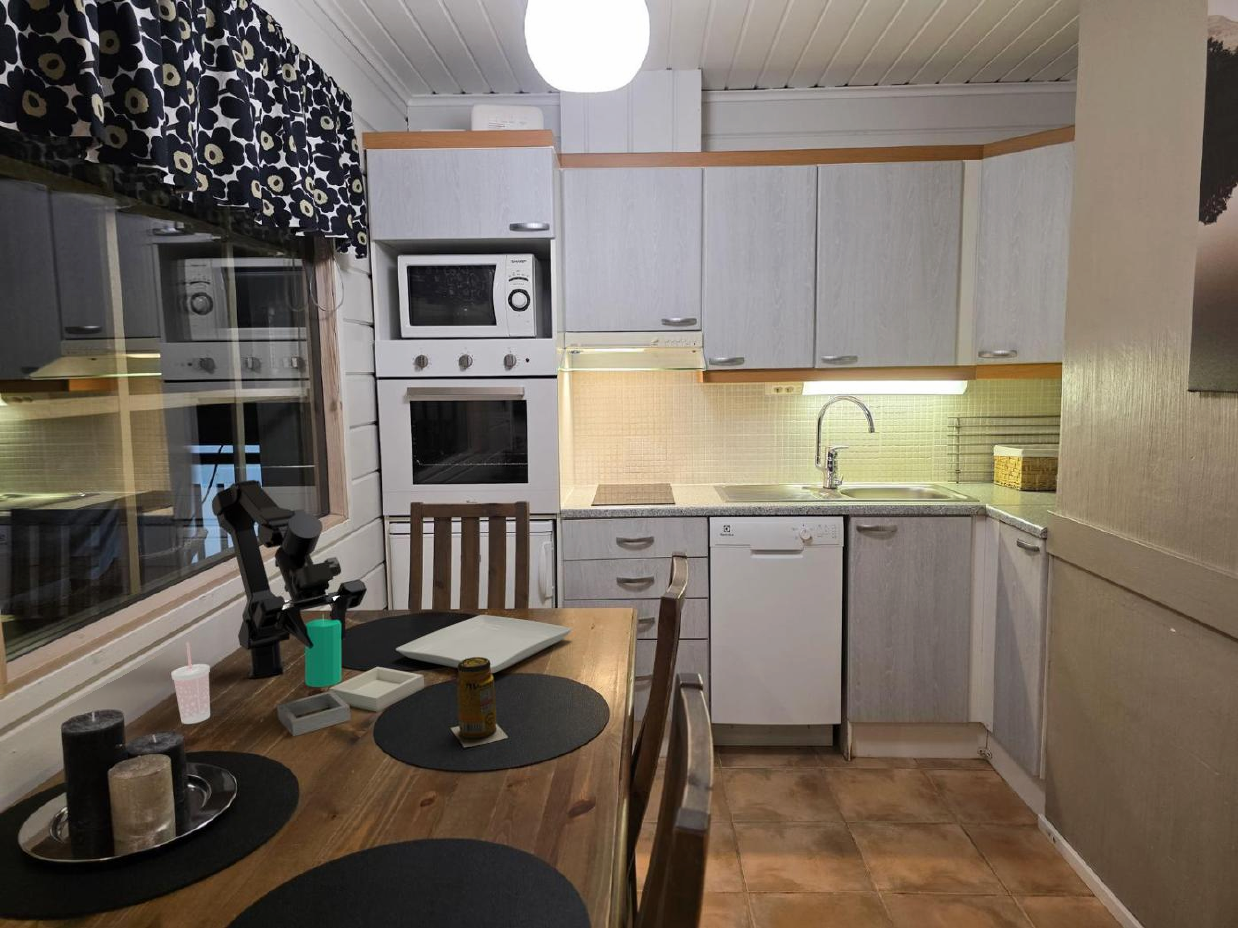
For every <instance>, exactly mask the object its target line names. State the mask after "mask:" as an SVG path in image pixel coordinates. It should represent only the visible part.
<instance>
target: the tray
mask: <svg viewBox="0 0 1238 928" xmlns="http://www.w3.org/2000/svg"><path fill="white" fill-rule="evenodd" d="M424 679H425V676H424V674H419V673H413V672H409V671H403V670H397V669H392V668H387V667H380V666H376V667H374V668H372V669H370V670H367V671H365V672H363V673H360V674H358V675H356V676H354V677H352V678H349V679H347V680H345V681H342V682H341V683H340V682H339V683H337V684H335V685H332V687H331V686H330V687H329V688H328V692H329V691H333V692H334V693H336V694H337V695H338V696H339V697H340V698H341V699H342V700H343V701H344V702H346V703H347V704H348V705H349V706H350V707H354V708H359V709H362V710H367V711H371V712H375V713H377V712H381V711H382V710H383V709H386V708H388V707H390V706H392V705H393V704H396V703H397V702H399V701H400V702H401V700H403V699H405V698H407V697H409V696H412V695H413V694H415V693H417V692H419V691H421V690H423V689H425V680H424Z"/></svg>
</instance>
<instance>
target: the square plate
mask: <svg viewBox="0 0 1238 928" xmlns="http://www.w3.org/2000/svg"><path fill="white" fill-rule="evenodd" d="M572 630H573V627H571V626H570V627H569V626H564V625H559V624H558V625H556V624H552V623H546V622H540V621H534V620H526V619H520V618H513V617H505V616H497V615H486V614H480V615H477V616H475V617H474V616H473V617H472V618H469V619H466V620H463V621H461V622H458V623H455V624H452V625H449V626H446V627H443V628H441V629H438V630H435V631H434V632H431V633H428V634H426V635H424V636H421V637H419V638H416V639H414V640H411V641H409V642H407V643H405V644H403V645H400V646H398V647H396V648H395V651H397V652H399V653H400V654H401V655H403V656H405V657H407V658H409V659H413V660H417V661H421V662H425V663H432V664H436V665H442V666H445V667H450V668H451V667H452V668H455V669H458V664H459V663H460V662H461V661H462V660H464V659H467V658H472V657H483V658H487V659H488V660H489V661H490V664H491V665H490V668H491V675H493V674H495V673H497V672H500V671H503V670H505V669H507V668H509V667H511V666H513V665H515V664H517V663H519V662H521V661H523V660H525V659H526V658H529V657H531V656H533V655H535V654H536V653H539V652H541V651H543V650H544V649H547V648H548V647H550V646H552V645H555V644H556V643H558V642H560V641H562V640H563V639H564V638H566V637H567V636H568V635H569V634H570V632H571V631H572Z"/></svg>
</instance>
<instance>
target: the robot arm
mask: <svg viewBox="0 0 1238 928" xmlns="http://www.w3.org/2000/svg"><path fill="white" fill-rule="evenodd" d="M211 510H212V513H213V515H214V516H215V517H216V519H217V523H218V526H220V528H222V529H223V530H224V531H226V533H228V535H230V537H231V542H232V545H233V549H234V550H233V551H234V553H235V557H236V560H237V561H236V562H237V565H238V569H239V573H240V576H241V581H242V585H243V588H244V593H245V597H246V600H247V601H246V604H245V606H244V609H243V612H242V614H241V616H242V622H241V625H240V628H239V632H238V634H237V637H238V642H239V646H240V647H242V648H243V649H245V650H247V651H250V661H251V669H250V670H249V674H248V679H256V678H263V677H269V676H271V677H272V676H278V675H283V674H284V673H285V669H286V661H283V659H282V647H281V642H283V641H288V640H290V638H291V637H290V636H291V635H292V636H293V637H294V638H296V639H297V640H299V642H301V643H302V644H303V645H304V646H305V645H306V646H307V647H309V648H310V649H311V648H312V647H313V643H312V642H311V640H310V638H309V636H308V633H307V628H306V626H305V625H306V623H304V620H303V618H302V614H301V612H302V611H306V610H310V609H314V608H319V607H323V606H327V605H329V606H330V608H331V611H330V613H329V617H330V620H339V621H340V622H341V641H344V640H346V637H347V635H346V613H347V611H348V610H350V609H353V608H355V609H356V608H357V607H359V606H360V605H361V603H362V602H363V600H364V596H365V595H366V592H367V590H368V589H367V586H366V584H365V582H363V581H362V580H360V579H354V580H353V579H352V580H349V581H345V582H340V584H339V587H338V589H337V591H334V592H329V593H327V592H326V590H329V587H330V586H331V585H330V583H329V581H333V580H334V577H337V576H339V575H340V574H341V573H342V568H341V567H342V566H341V564H340V562H339V560H338V558H337V556H334V557H329V558H326V560H324V561H323V562H318V563H314V562H313V559H312V557H311V554H313V552H314V551H315V549H316V547H317V544H318V542H319V539H320V536H321V534H322V531H323V527H324V526H323V523H322V520H320V519H319V518H318V517H316V516H315V515H312V514H309V513H306V512H305V509H304V508H301V509H294V510H293V509H292V510H291V509H288V508H283V507H279V505H277V503H276V502H275V501H274V500H273V499H272V497H270V495H269V494H268V493H267V492H266V491H265V490H264V489H263V488H262V485H261V482H260V481H259V480H255V479H250V480H240V481H235V482H233V483H231V485H229V487H226V488H225V489H223V490H221V491H219V492H217V493H216V495H215V496H214V497H213V498H212V500H211ZM255 524H257V533H256V530H255ZM257 536H258V538H257ZM258 540H259V541H258ZM259 542H260V543H261V544H263V546H264V547H266V548H267V549H269V548H271V549H272V548H276V547H277V549H276V552H275V553H274V559H275V561H274V565H275V567H276V568H278V569H279V571H280V574H281V576H282V579H283V581H284V587H283V588H284V591H285V592H286V593H287V592H288V593H289V598H290V599H286V600H285V599H284V596H281V595H278V596H276V594H275V593H273V592H272V590H271V587H270V583H269V580H268V575H267V572H266V567H265V564H264V561H263V556H262V552H261V549H260V546H259V545H260V544H259Z"/></svg>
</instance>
